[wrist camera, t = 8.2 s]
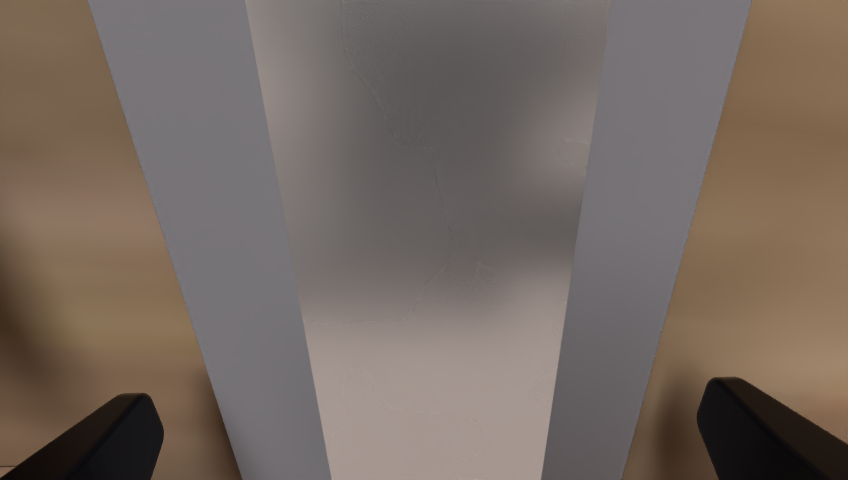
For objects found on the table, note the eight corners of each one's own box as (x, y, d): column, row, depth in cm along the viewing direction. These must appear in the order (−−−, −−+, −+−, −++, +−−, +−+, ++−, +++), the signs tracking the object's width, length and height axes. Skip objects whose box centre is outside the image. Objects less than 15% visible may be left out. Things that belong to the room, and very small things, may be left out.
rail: (487, 606, 13) (504, 751, 10) (385, 609, 13) (378, 754, 10) (563, -345, 4) (733, -724, 2) (271, -339, 4) (102, -706, 2)
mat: (576, 613, 14) (580, 630, 13) (296, 621, 14) (293, 638, 13) (875, -560, 4) (918, -610, 4) (-57, -533, 4) (-101, -581, 4)
